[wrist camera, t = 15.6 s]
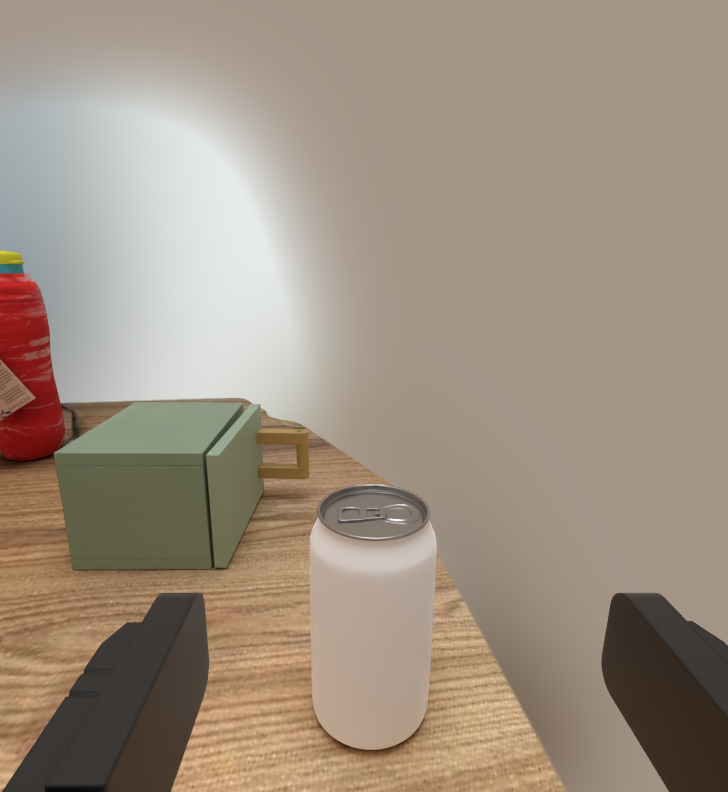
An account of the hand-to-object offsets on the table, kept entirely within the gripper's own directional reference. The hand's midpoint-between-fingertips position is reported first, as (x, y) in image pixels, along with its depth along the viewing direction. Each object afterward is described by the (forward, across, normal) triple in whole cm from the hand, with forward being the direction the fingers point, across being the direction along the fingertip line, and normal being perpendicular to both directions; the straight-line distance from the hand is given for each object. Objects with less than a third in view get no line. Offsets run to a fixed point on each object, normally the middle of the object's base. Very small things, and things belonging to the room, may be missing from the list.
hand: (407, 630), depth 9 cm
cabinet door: (+33, +9, +16) cm, 38 cm away
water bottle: (+50, +42, +17) cm, 67 cm away
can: (+14, 0, +17) cm, 22 cm away
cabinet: (+33, +18, +17) cm, 41 cm away
